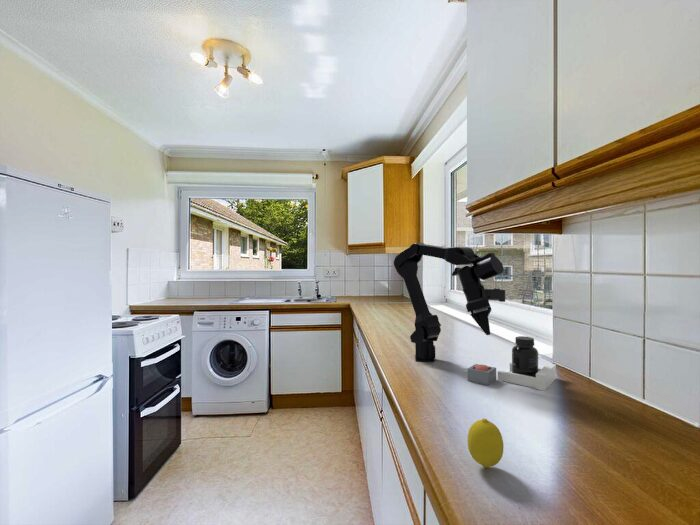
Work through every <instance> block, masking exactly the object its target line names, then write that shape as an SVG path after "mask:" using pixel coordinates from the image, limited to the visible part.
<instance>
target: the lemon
mask: <svg viewBox="0 0 700 525" xmlns="http://www.w3.org/2000/svg"><path fill="white" fill-rule="evenodd" d="M467 449H468V452H469V454H470V456H471V458H472V459H473V460H474V461H475V462H477V463H478V464H479V465H480V466H482V467H483V468H484V469H488V468H489V467H494V466H497V465H498V464H499V463H500V462H501V460H502V458H503V455H504V440H503V436H502V433H501V431H500V429H499V428H498V426H497V425H496V424H494V423H493V422H492V421H489V420H488V419H487V418H485V417H483V418H482V419H479V420H476V421H475V422H473V423H472V424H471V425H470V427H469V428H468V433H467Z"/></svg>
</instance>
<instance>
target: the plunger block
mask: <svg viewBox="0 0 700 525" xmlns="http://www.w3.org/2000/svg"><path fill="white" fill-rule="evenodd" d="M475 365H479V363H474V364H473V365H471V366H469V367H467V369H466V370H467V372H466V376H467V382H471V383H476V384H479V385H480V384H481V385H485V386H490V385H491V384H493V383H495V382H496V381H497V367H493V366H488V365H487V366H488V371H481V370H476V369H475Z"/></svg>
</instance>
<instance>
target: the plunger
mask: <svg viewBox="0 0 700 525" xmlns="http://www.w3.org/2000/svg"><path fill="white" fill-rule="evenodd" d="M478 364H479V363H478ZM474 365H475V364H474ZM475 369H476V370H481V371H488V365H486V364H479V365H475Z"/></svg>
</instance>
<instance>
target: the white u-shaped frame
mask: <svg viewBox="0 0 700 525" xmlns="http://www.w3.org/2000/svg"><path fill="white" fill-rule="evenodd" d="M556 379H557V364H554V363H547V364H546V365H545V366H543V367H539V366H538V372H537V373H536V377H532V376H526V375H521V374H516V373H512V362H510V363H509V371H505V370H498V371H497V381H501V382H507V383H511V384H515V385H516V384H517V385H520V386H524V387H529V388H535V389H536V390H540V391H546V390H547V389H549V388H548V387H550V385H551V384H552V383H553V382H554V381H555V380H556Z"/></svg>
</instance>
